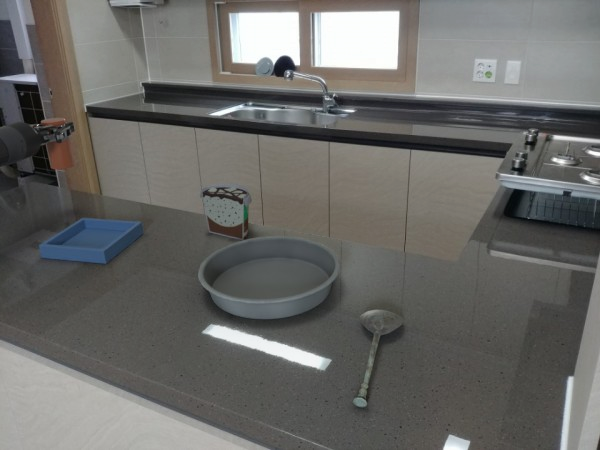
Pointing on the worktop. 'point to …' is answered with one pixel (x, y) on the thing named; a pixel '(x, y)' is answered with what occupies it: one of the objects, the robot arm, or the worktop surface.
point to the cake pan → (269, 276)
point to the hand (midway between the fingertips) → (61, 126)
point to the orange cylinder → (59, 148)
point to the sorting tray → (91, 240)
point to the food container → (227, 209)
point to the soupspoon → (375, 342)
